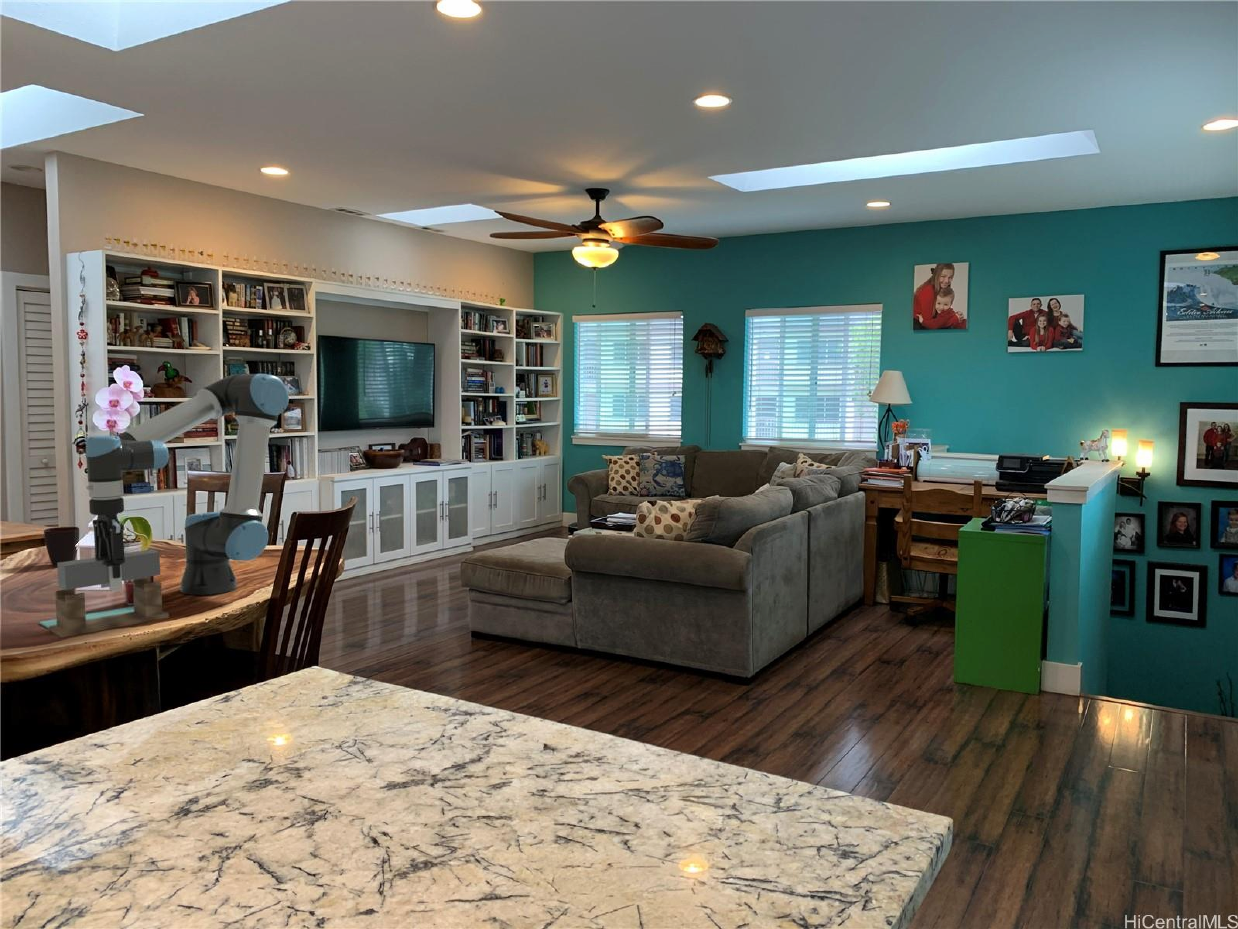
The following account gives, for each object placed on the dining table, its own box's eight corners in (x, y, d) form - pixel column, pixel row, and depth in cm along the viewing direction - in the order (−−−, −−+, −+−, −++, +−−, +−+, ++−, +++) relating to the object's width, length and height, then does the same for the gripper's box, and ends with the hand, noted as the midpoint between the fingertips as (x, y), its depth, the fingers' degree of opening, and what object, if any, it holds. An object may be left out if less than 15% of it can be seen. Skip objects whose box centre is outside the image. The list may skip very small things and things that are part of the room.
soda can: (142, 606, 246) (140, 563, 245) (119, 605, 247) (117, 562, 246) (160, 600, 253) (159, 558, 252) (138, 598, 254) (136, 557, 253)
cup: (44, 569, 292) (42, 532, 291) (48, 561, 304) (46, 526, 303) (79, 566, 297) (78, 530, 296) (82, 559, 309) (80, 524, 308)
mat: (139, 606, 246) (139, 605, 246) (149, 611, 241) (149, 609, 241) (39, 623, 228) (39, 622, 228) (48, 628, 223) (48, 627, 223)
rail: (152, 571, 237) (151, 549, 236) (160, 574, 234) (159, 552, 233) (58, 586, 221) (57, 562, 220) (66, 590, 217) (64, 565, 217)
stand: (155, 612, 240) (154, 576, 239) (169, 617, 235) (167, 581, 234) (49, 630, 221) (47, 591, 220) (61, 637, 216) (59, 597, 215)
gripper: (76, 495, 228) (82, 585, 231) (103, 502, 216) (109, 597, 219) (108, 492, 234) (113, 580, 236) (136, 499, 222) (141, 591, 224)
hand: (111, 588), depth 227 cm, fingers closed on rail, 5 cm apart
